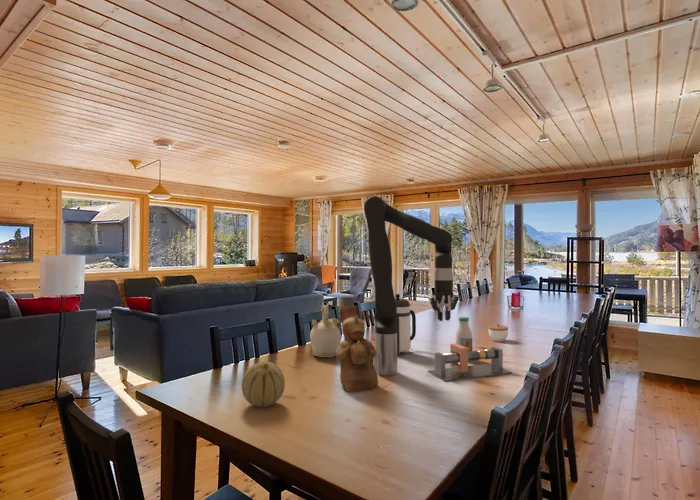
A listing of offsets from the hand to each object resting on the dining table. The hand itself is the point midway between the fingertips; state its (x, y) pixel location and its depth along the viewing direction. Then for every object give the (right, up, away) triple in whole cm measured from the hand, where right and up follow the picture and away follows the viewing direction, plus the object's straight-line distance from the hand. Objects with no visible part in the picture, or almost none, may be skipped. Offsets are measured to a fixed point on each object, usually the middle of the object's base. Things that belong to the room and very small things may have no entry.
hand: (444, 320), depth 172 cm
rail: (+12, -23, +4) cm, 26 cm away
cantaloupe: (-69, -24, -31) cm, 79 cm away
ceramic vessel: (-37, -24, -9) cm, 45 cm away
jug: (-51, -24, +36) cm, 67 cm away
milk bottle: (+15, -23, +25) cm, 37 cm away
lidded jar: (+45, -23, +64) cm, 82 cm away
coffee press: (-14, -23, +40) cm, 48 cm away
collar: (+7, -21, +2) cm, 22 cm away
